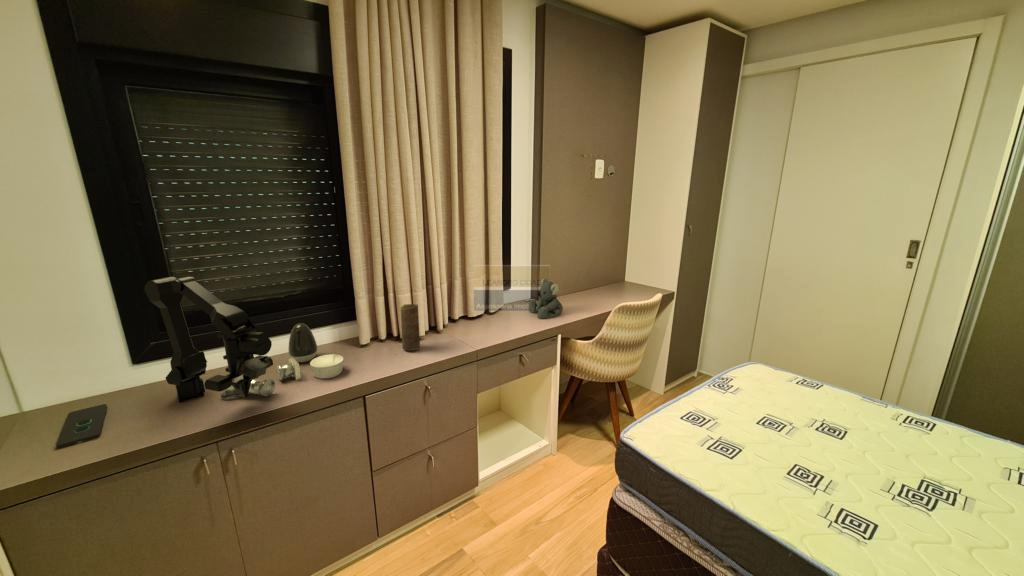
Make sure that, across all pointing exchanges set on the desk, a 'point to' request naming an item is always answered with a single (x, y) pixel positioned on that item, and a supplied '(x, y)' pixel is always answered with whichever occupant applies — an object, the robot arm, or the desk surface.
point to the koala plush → (546, 301)
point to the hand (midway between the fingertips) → (245, 396)
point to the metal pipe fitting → (282, 371)
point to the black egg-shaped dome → (302, 343)
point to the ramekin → (327, 366)
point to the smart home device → (82, 426)
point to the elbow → (256, 388)
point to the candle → (410, 327)
